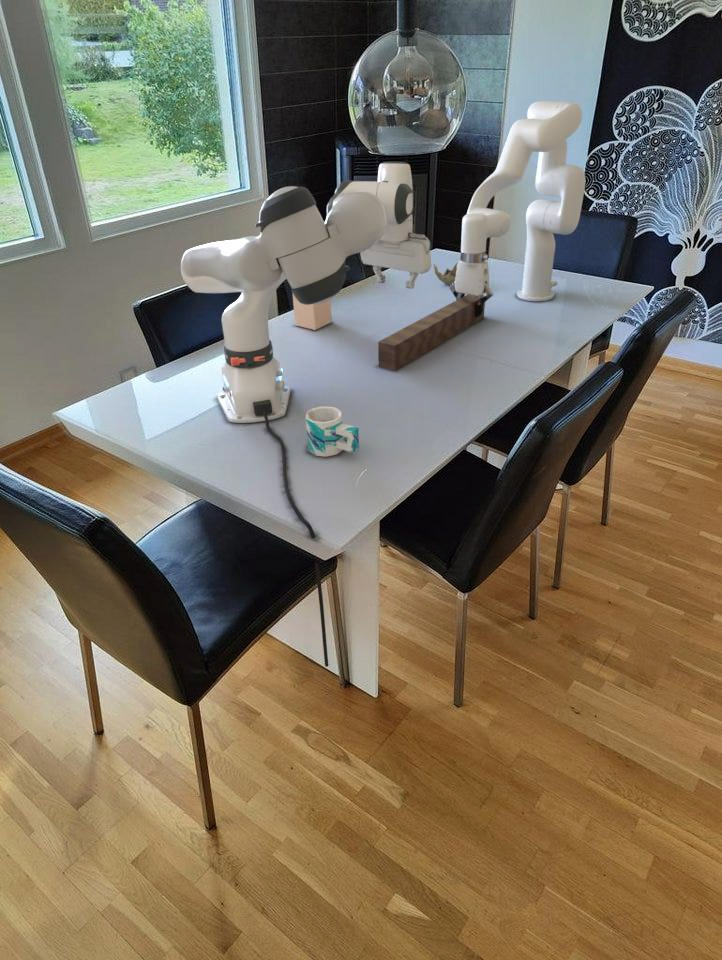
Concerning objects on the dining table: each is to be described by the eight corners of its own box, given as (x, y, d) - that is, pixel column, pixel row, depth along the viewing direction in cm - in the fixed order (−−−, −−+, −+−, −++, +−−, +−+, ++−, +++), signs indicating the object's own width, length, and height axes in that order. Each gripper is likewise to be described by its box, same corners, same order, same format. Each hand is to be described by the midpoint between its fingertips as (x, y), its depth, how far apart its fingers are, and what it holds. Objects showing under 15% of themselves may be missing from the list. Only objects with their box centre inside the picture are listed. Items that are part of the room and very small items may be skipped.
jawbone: (424, 270, 248) (439, 245, 244) (454, 288, 255) (469, 265, 252) (433, 277, 241) (449, 253, 237) (463, 297, 248) (480, 273, 245)
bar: (394, 370, 185) (394, 345, 181) (378, 366, 188) (378, 341, 184) (483, 318, 218) (485, 295, 214) (468, 314, 221) (470, 293, 217)
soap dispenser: (294, 325, 217) (288, 256, 206) (311, 317, 223) (306, 249, 211) (325, 332, 211) (320, 261, 199) (342, 324, 217) (338, 255, 205)
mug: (322, 435, 155) (320, 402, 150) (366, 448, 149) (365, 414, 145) (301, 451, 149) (297, 417, 145) (345, 465, 144) (343, 430, 139)
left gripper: (436, 232, 166) (435, 288, 174) (370, 224, 177) (372, 276, 185) (422, 238, 162) (421, 294, 170) (356, 228, 173) (358, 282, 181)
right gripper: (504, 257, 203) (499, 315, 213) (454, 250, 212) (452, 306, 222) (492, 263, 198) (487, 322, 208) (442, 256, 207) (440, 312, 217)
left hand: (395, 285), depth 177 cm, fingers open, 8 cm apart
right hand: (469, 313), depth 215 cm, fingers closed on bar, 5 cm apart
